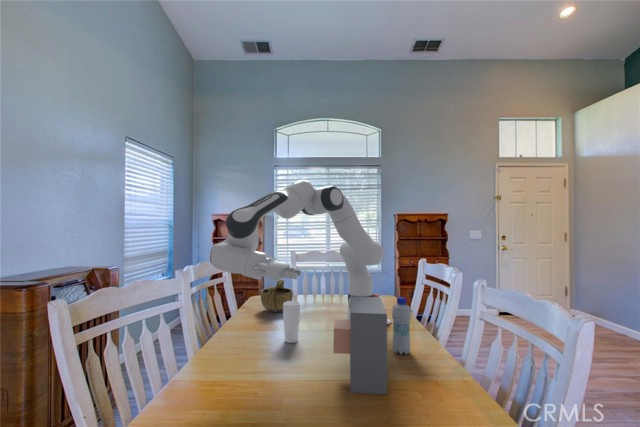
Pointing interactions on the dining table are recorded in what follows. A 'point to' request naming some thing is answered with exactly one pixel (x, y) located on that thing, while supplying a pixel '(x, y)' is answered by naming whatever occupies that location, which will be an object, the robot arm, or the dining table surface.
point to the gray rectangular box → (368, 345)
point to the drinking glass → (291, 320)
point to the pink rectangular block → (342, 336)
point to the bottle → (401, 326)
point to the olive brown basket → (276, 297)
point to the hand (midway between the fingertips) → (299, 275)
